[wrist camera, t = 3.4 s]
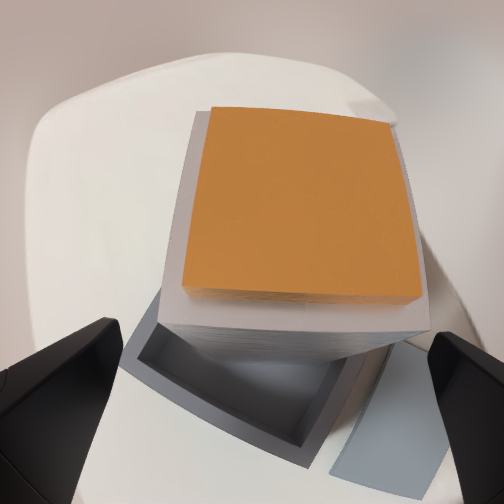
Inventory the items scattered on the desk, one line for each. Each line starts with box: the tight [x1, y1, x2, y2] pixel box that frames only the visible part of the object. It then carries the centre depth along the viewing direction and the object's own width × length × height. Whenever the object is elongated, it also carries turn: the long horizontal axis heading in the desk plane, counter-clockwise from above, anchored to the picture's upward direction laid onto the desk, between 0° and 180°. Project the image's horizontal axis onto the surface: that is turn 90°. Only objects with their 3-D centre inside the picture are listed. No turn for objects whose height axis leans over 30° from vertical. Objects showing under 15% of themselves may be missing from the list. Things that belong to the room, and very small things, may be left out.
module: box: [157, 107, 431, 366], centre depth 11 cm, size 5×5×13 cm
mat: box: [329, 340, 450, 500], centre depth 15 cm, size 9×7×1 cm
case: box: [118, 287, 368, 469], centre depth 16 cm, size 12×10×4 cm
